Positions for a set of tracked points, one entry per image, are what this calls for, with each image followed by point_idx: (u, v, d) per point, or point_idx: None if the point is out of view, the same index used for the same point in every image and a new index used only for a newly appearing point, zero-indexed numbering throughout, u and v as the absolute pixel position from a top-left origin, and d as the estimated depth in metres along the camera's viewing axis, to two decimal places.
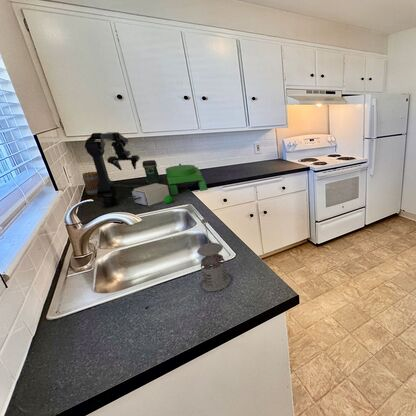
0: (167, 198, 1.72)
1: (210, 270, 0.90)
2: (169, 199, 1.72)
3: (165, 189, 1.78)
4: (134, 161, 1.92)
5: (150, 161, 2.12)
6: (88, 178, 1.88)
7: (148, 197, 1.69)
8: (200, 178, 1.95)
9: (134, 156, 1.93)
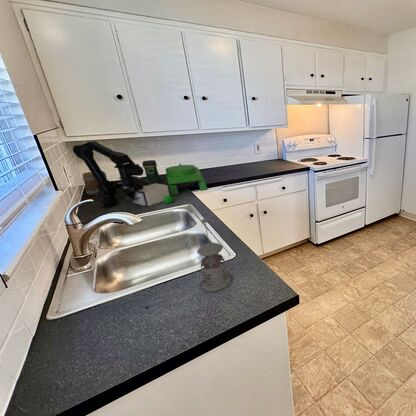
0: (167, 198, 1.72)
1: (210, 270, 0.90)
2: (169, 199, 1.72)
3: (165, 189, 1.78)
4: (131, 190, 1.58)
5: (150, 161, 2.12)
6: (88, 178, 1.88)
7: (148, 197, 1.69)
8: (200, 178, 1.95)
9: (135, 185, 1.60)
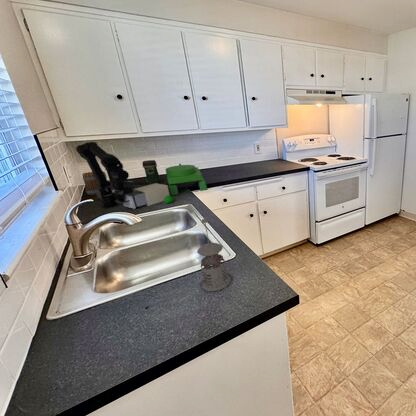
0: (167, 198, 1.72)
1: (210, 270, 0.90)
2: (169, 199, 1.72)
3: (165, 189, 1.78)
4: (120, 194, 1.53)
5: (150, 161, 2.12)
6: (88, 178, 1.88)
7: (148, 197, 1.69)
8: (200, 178, 1.95)
9: (125, 188, 1.55)
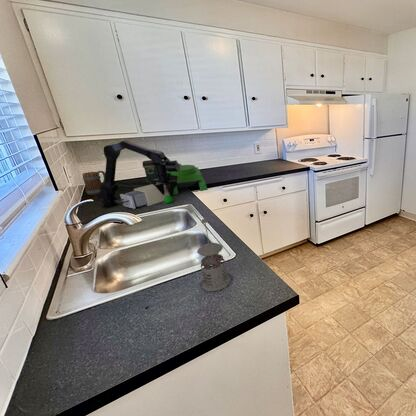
0: (167, 198, 1.72)
1: (210, 270, 0.90)
2: (169, 199, 1.72)
3: (165, 189, 1.78)
4: (167, 186, 1.64)
5: (150, 161, 2.12)
6: (88, 178, 1.88)
7: (148, 197, 1.69)
8: (200, 178, 1.95)
9: (171, 181, 1.66)
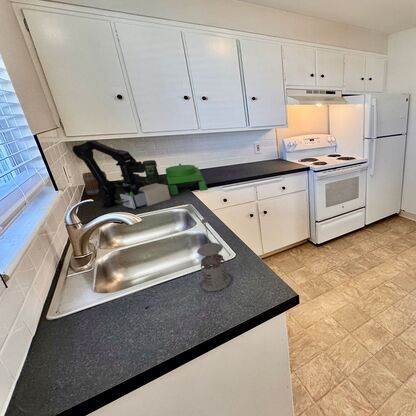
0: (132, 193, 1.65)
1: (210, 270, 0.90)
2: None
3: (165, 189, 1.78)
4: (133, 188, 1.59)
5: (150, 161, 2.12)
6: (88, 178, 1.88)
7: (148, 197, 1.69)
8: (200, 178, 1.95)
9: (137, 182, 1.61)
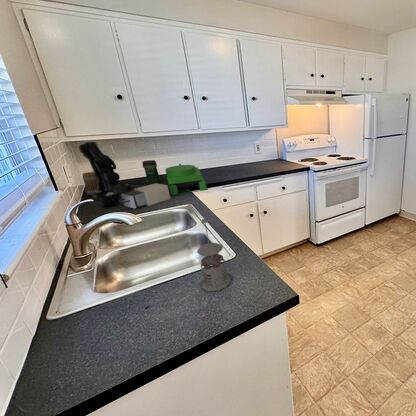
0: (134, 198, 1.66)
1: (210, 270, 0.90)
2: None
3: (165, 189, 1.78)
4: None
5: (150, 161, 2.12)
6: (88, 178, 1.88)
7: (148, 197, 1.69)
8: (200, 178, 1.95)
9: (97, 192, 1.50)
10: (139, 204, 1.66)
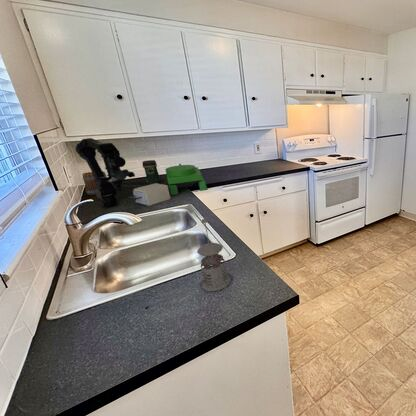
0: None
1: (210, 270, 0.90)
2: None
3: (165, 189, 1.78)
4: None
5: (150, 161, 2.12)
6: (88, 178, 1.88)
7: (148, 197, 1.69)
8: (200, 178, 1.95)
9: (100, 177, 1.50)
10: None
